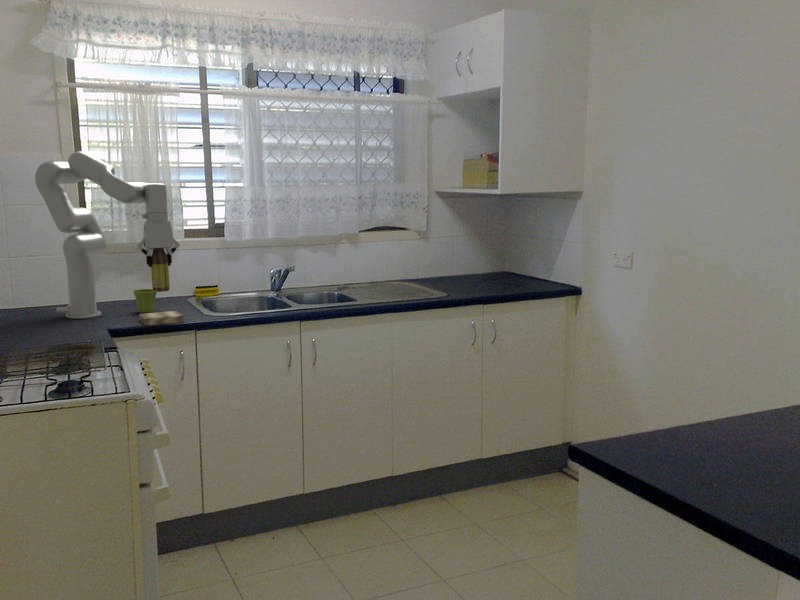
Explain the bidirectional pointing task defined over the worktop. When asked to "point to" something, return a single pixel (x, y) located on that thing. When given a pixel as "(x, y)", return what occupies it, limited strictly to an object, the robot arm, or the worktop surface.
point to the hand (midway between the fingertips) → (159, 265)
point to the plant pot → (145, 300)
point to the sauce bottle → (160, 270)
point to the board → (161, 318)
